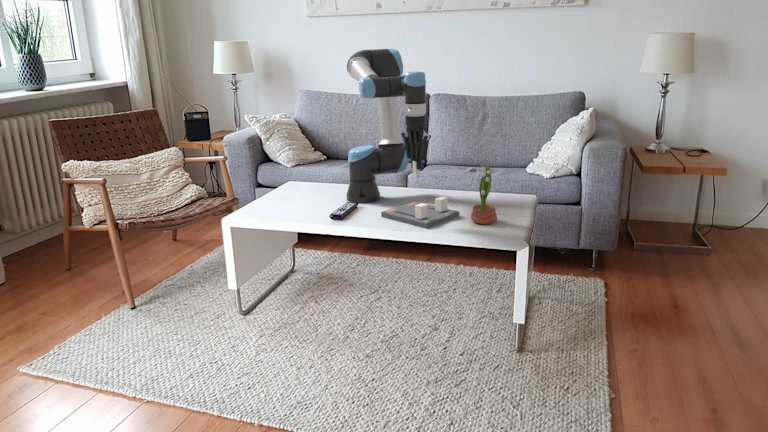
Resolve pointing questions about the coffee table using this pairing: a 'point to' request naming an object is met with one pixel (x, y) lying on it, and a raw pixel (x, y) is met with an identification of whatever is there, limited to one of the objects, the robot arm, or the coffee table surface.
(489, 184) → the potted flower
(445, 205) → the switch knob
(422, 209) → the switch knob
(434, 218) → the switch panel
